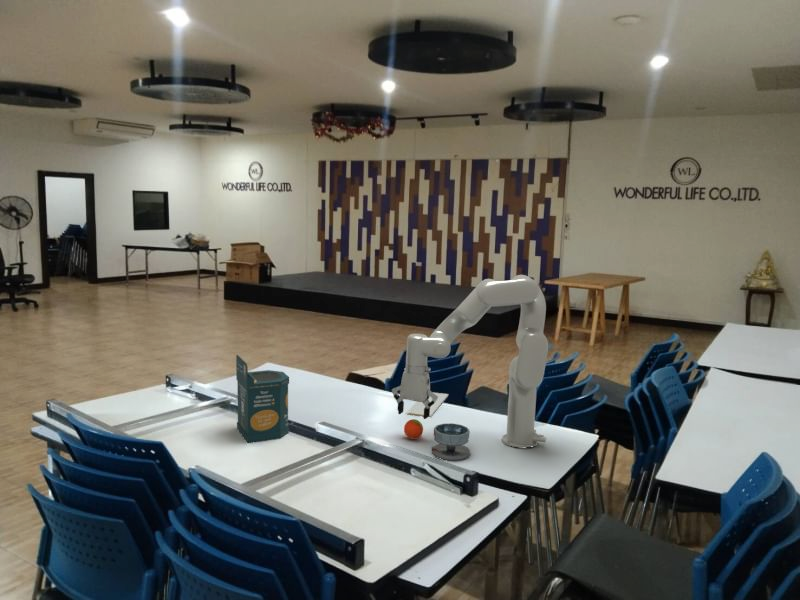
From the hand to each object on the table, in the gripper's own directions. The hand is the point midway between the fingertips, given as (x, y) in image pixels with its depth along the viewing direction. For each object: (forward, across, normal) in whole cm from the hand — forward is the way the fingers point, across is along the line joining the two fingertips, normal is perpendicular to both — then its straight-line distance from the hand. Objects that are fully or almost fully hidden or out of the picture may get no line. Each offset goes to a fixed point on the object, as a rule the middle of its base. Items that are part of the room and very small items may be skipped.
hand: (413, 415), depth 219 cm
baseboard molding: (+9, +9, -39) cm, 41 cm away
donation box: (+10, +50, +19) cm, 54 cm away
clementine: (+9, -1, 0) cm, 9 cm away
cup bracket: (+8, -17, +7) cm, 20 cm away
